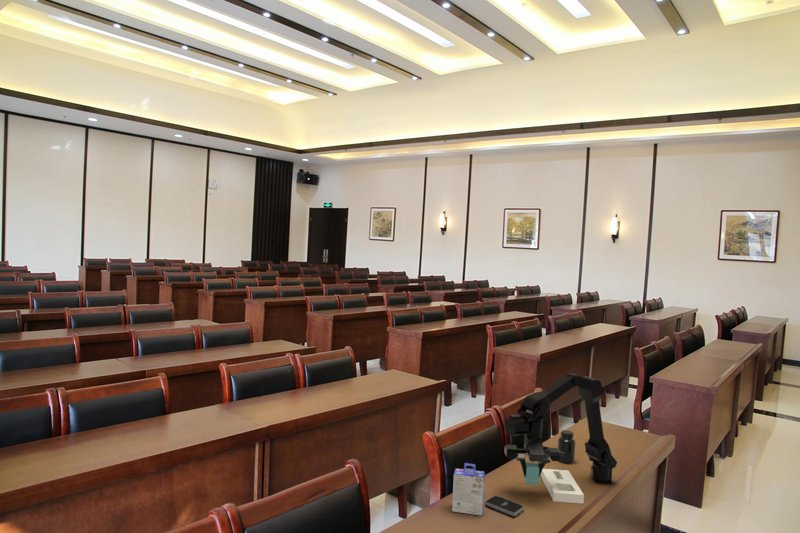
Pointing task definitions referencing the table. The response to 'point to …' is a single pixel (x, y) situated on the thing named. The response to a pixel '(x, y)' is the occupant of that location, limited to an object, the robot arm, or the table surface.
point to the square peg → (532, 473)
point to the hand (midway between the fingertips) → (531, 477)
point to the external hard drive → (504, 506)
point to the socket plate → (562, 486)
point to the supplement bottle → (566, 447)
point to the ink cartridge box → (468, 490)
